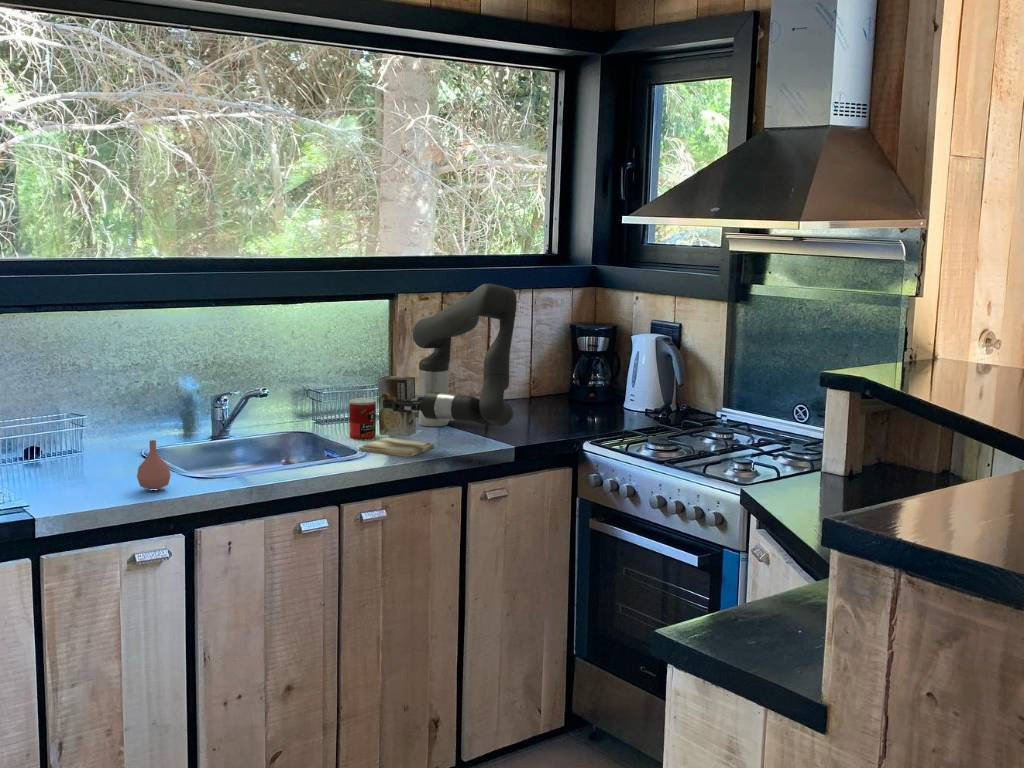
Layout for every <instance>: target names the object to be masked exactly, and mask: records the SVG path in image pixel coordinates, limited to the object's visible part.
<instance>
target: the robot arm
mask: <svg viewBox="0 0 1024 768" xmlns="http://www.w3.org/2000/svg"><path fill="white" fill-rule="evenodd" d="M517 302H518V301H517V293H516V291H515V290H514V289H513V288H511V287H509V286H504V285H498V284H493V283H484V284H481V285H479V286H478V287H477V288H475V289H474V290H473V291H472V292H471V293H469V294H467V296H466V297H463V298H462V299H461V300H459V301H456V302H454V303H452V304H451V305H449V306H447V307H446V308H444V309H442V310H440V311H439V312H437V313H435V314H433V315H431V316H427V317H426V318H425V317H424V318H421V319H419V320H417V321H416V323H415V325H414V327H413V330H412V339H413V342H414V343H415V345H416V346H418V347H419V348H421V349H425V350H426V349H433V351H432V353H431V354H429V355H428V356H426V357H425V358H422V359H420V360H419V362H418V394H415V396H414V398H413V399H403V400H402V401H397V400H395V401H394V400H383V408H390V409H393V411H398V412H407V413H411V412H412V411H413V412H415V413H418V425H420V426H423V427H445V426H447V425H448V424H449V422H450V421H457V422H459V421H460V422H473V423H477V424H481V425H486V426H491V427H504V426H507V425H508V424H509V423H510V422H511V421H512V419H513V416H514V412H513V411H514V410H513V408H512V406H511V404H509V403H508V402H507V401H506V400H504V392H505V391H506V390H508V388H509V387H510V386H509V385H510V355H511V348H512V341H513V334H514V329H515V328H514V327H515V320H516V312H517ZM480 317H485V318H491V319H494V320H495V319H496V320H499V329H498V333H497V335H496V337H495V339H494V340H493V342H492V344H491V345H490V347H489V348H488V350H487V352H486V354H485V356H484V359H483V384H482V388H481V392H480V397H479V398H477V397H476V396H473V395H466V394H455V393H450V392H449V374H450V373H449V366H450V361H451V349H452V348H451V347H452V338H453V337H454V338H455V337H459V336H462V335H464V334H466V333H468V332H471V331H472V330H474V329H475V328H476V327H477V325H478V323H479V319H480ZM406 401H408V403H405V402H406ZM398 405H399V407H398Z"/></svg>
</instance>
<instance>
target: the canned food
mask: <svg viewBox="0 0 1024 768" xmlns="http://www.w3.org/2000/svg"><path fill="white" fill-rule="evenodd" d="M348 404H349V405H348V410H349V411H348V415H349V418H348V421H349V423H348V424H349V431H348V432H349V437H350V438H351V439H353V440H359V441H360V439H362V440H363V441H365V439H367V440H372V439H374V438H375V437H376V435H377V434H376V431H377V429H376V428H377V423H376V422H377V421H376V419H377V418H376V417H377V415H376V414H377V408H376V407H377V406H376V405H377V404H376V400H375V399H374V398H367V397H362V398H361V397H359V398H358V397H357V398H352V399H350V400H349V402H348Z"/></svg>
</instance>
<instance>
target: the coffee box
mask: <svg viewBox="0 0 1024 768" xmlns="http://www.w3.org/2000/svg"><path fill="white" fill-rule="evenodd" d="M377 391H378V398H377V399H378V425H379V426H378V427H379V428H378V430H379V432H378V435H380V436H393V437H394V436H397V437H410V436H412V435H415V434H416V433H417V426H416V424H417V423H416V415H417V414H416V412H413V411H412V412H411V413H407V412H398V411H393V409H390V408H383V400H394V401H395V400H397V401H402V400H403V399H413V398H414V396H415V395H416V378H415V376H401V375H395V376H394V375H385V376H382V377H380V378H378V379H377ZM405 403H408V401H406V402H405ZM398 407H399V405H398Z"/></svg>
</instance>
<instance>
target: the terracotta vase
mask: <svg viewBox="0 0 1024 768" xmlns="http://www.w3.org/2000/svg"><path fill="white" fill-rule="evenodd" d="M171 475H172V474H171V471H170V466H169V465H168V464H167V462H165V461H164V459H162V458H161V455H160V454H159V453H158V450H157V440H154V439H152V440H149V451H148V453H147V455H146V458H145V459H144V460H143V461H142V462H141V463H140V464H139V466H138V468H137V474H136V478H137V481H138V483H139V486H140V487H141V488H143V489H147V490H149V489H159V488H160V489H162V488H164V487H167V486H168V485H169V483H170V479H171ZM160 489H159V490H160Z"/></svg>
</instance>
